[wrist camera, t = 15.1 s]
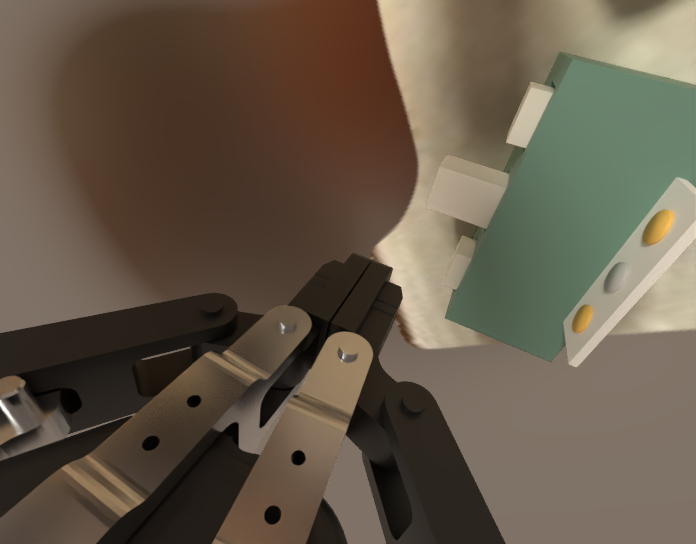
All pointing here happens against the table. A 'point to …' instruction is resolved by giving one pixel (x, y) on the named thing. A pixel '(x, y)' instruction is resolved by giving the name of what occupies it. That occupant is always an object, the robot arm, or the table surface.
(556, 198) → the console
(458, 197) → the button mid
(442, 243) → the table surface
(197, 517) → the robot arm
